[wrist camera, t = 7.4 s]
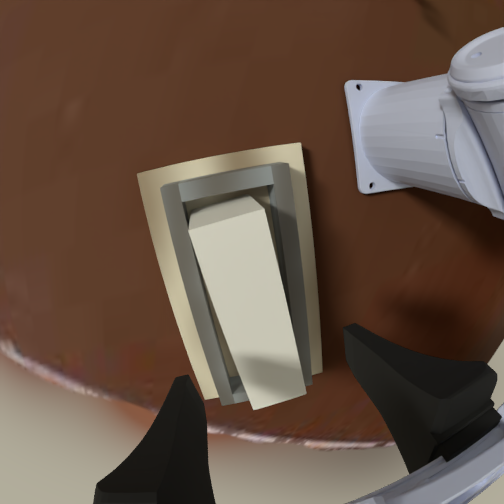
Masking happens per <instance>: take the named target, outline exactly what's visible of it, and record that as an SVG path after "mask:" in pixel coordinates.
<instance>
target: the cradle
mask: <svg viewBox="0 0 504 504" xmlns="http://www.w3.org/2000/svg"><path fill="white" fill-rule="evenodd" d="M137 177H138V181H139V186H140V190H141V195H142V199H143V204H144V208H145V212H146V216H147V220H148V224H149V228H150V232H151V236H152V240H153V244H154V247H155V251H156V255H157V258H158V262H159V265H160V269H161V272H162V276H163V279H164V283H165V286H166V289H167V293H168V296H169V299H170V302H171V306H172V309H173V312H174V315H175V318H176V321H177V324H178V327H179V330H180V333H181V336H182V339H183V342H184V345H185V348H186V350H187V353H188V356H189V359H190V362H191V364H192V367H193V370H194V372H195V375H196V378H197V380H198V383H199V385H200V388H201V391H202V393H203V396H204V398H205V400H206V399H212V398H217V397H219V398H220V401H221V404H222V406H223V405H229V404H234V403H239V402H244V401H248V400H249V398H248V395H247V393H246V390H245V388H244V385H243V383H242V380H241V378H240V375H239V373H238V370H237V367H236V365H235V362H234V360H233V357H232V354H231V352H230V349H229V347H228V344H227V341H226V339H225V336H224V333H223V330H222V328H221V325H220V322H219V320H218V317H217V314H216V311H215V308H214V306H213V303H212V300H211V297H210V294H209V291H208V289H207V286H206V283H205V280H204V277H203V274H202V271H201V268H200V265H199V262H198V259H197V256H196V253H195V250H194V247H193V244H192V241H191V238H190V235H189V232H188V229H189V222H190V216H191V210H193V209H196V208H200V207H203V206H206V205H210V204H213V203H217V202H220V201H224V200H227V199H231V198H234V197H238V196H241V195H245V194H249V195H250V196H251V197H252V198H253V199H254V200H255V201H256V202H258V203H259V204H260V205H261V206H262V207H263V208H264V209H265V213H266V217H267V222H268V226H269V230H270V234H271V238H272V242H273V246H274V251H275V255H276V259H277V263H278V267H279V272H280V276H281V280H282V285H283V289H284V293H285V298H286V302H287V306H288V311H289V315H290V320H291V324H292V329H293V333H294V338H295V342H296V347H297V351H298V356H299V360H300V365H301V370H302V374H303V379H304V384H305V386H308V385H311V384H312V375H314V374H317V373H321V372H322V349H321V330H320V315H319V300H318V287H317V275H316V264H315V253H314V243H313V234H312V225H311V216H310V207H309V199H308V191H307V183H306V176H305V169H304V162H303V155H302V148H301V143H292V144H285V145H278V146H271V147H264V148H258V149H251V150H245V151H239V152H234V153H228V154H223V155H218V156H212V157H207V158H202V159H197V160H193V161H188V162H183V163H179V164H174V165H170V166H166V167H162V168H157V169H153V170H149V171H145V172H141V173H138V174H137Z"/></svg>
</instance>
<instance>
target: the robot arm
mask: <svg viewBox="0 0 504 504" xmlns="http://www.w3.org/2000/svg"><path fill="white" fill-rule="evenodd" d="M356 85H359V87H360V90H358V89H357V88H356ZM344 88H345V94H346V100H347V106H348V112H349V118H350V125H351V132H352V139H353V147H354V155H355V163H356V173H357V183H358V189H359V191H360V192H361V193H364V194H369V193H375V192H382V191H388V190H395V189H401V188H408V187H418V188H422V189H426V190H430V191H434V192H437V193H441V194H445V195H449V196H452V197H456V198H459V199H463V200H466V201H470V202H473V203H476V204H480V205H483V206H486V207H488V208H489V209H490V211H491V212H492V215H493V216H494V217H497V218H500V219H503V220H504V27H503V28H500V29H497V30H494V31H491V32H489V33H486V34H484V35H482V36H480V37H478V38H476V39H474V40H473V41H471V42H469V43H468V44H467V45H465V46H464V47H463V48H461V49H460V50H459V51H458V52H457V53H456V54H455V55H454V57H453V59H452V61H451V66H450V69H449V71H448V74H443V75H438V76H433V77H428V78H423V79H419V80H414V81H410V82H406V83H404V82H390V81H365V80H350V81H347V82H346V83H345V85H344ZM370 183H372V184H373V187H372V188H371V189H370V187H369V185H370ZM343 332H344V342H345V353H346V361H347V363H348V365H349V367H350V369H351V371H352V372H353V374H354V376H355V378H356V379H357V381H358V382H359V383H360V385H361V386H362V388H363V389H364V391H365V392H366V393H367V395H368V396H369V398H370V399H371V400H372V402H373V403H374V405H375V406H376V407H377V409H378V410H379V412H380V413H381V415H382V417H383V419H384V421H385V422H386V424H387V426H388V428H389V430H390V432H391V434H392V436H393V438H394V440H395V442H396V444H397V446H398V449H399V451H400V453H401V455H402V457H403V460H404V462H405V464H406V467H407V469H408V472H409V475H407V476H406V477H404V478H402V479H400V480H398V481H396V482H394V483H392V484H390V485H388V486H385V487H383V488H381V489H379V490H377V491H375V492H372V493H370V494H368V495H365V496H363V497H361V498H358V499H356V500H353V501H351V502H348V503H345V504H467V503H469V502H470V501H471V500H473V499H474V498H475V497H476V496H478V495H479V494H480V493H481V492H483V491H484V490H485V489H486V488H488V487H489V486H490V485H491V484H492V483H493V482H494V481H496V480H497V479H498V478H499V477H500V476H501V475H502V474H503V473H504V403H503V404H502V405H501V406H500V407H499V408H498V409H497V411H496V410H495V409H494V408H493V406H494V402H493V401H492V400H491V399H490V398H491V395H492V393H493V390H494V388H495V386H496V382H497V373H496V372H495V371H494V370H493V369H491V368H490V367H489V366H488V365H487V364H486V363H485V362H484V361H456V360H448V359H442V358H437V357H432V356H428V355H424V354H421V353H418V352H414V351H411V350H409V349H406V348H404V347H401V346H399V345H396V344H394V343H392V342H390V341H388V340H386V339H384V338H382V337H380V336H378V335H376V334H374V333H372V332H370V331H369V330H367V329H365V328H363V327H361V326H360V325H358V324H356V323H354V324H351V325H349V326H346V327H343ZM207 444H208V443H207V420H206V414H205V408H204V403H203V401H202V399H201V397H200V396H199V394H198V392H197V390H196V388H195V386H194V384H193V382H192V380H191V379H190V377H189V375H184V376H179V377H176V378H175V380H174V382H173V384H172V386H171V388H170V391H169V393H168V395H167V397H166V399H165V401H164V403H163V405H162V407H161V409H160V411H159V413H158V415H157V417H156V419H155V420H154V422H153V424H152V426H151V427H150V429H149V430H148V432H147V434H146V435H145V436H144V438H143V440H142V441H141V442H140V443H139V445H138V446H137V447H136V448H135V449H134V450H133V452H132V453H131V454H130V455H129V456H128V457H127V458H126V459H125V460H124V461H123V462H122V463H121V464H120V465H119V466H118V467H117V468H116V469H115V470H113V471H112V472H111V473H110V474H108V475H107V476H106V477H105V478H104V479H102V480H101V481H99V482H98V483H97V485H96V489H95V495H94V502H93V504H216V503H215V499H214V494H213V489H212V484H211V479H210V473H209V466H208V445H207Z"/></svg>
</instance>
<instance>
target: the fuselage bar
mask: <svg viewBox="0 0 504 504" xmlns="http://www.w3.org/2000/svg"><path fill="white" fill-rule="evenodd" d="M188 232H189V235H190V238H191V241H192V244H193V247H194V250H195V253H196V256H197V259H198V262H199V265H200V268H201V271H202V274H203V277H204V280H205V283H206V286H207V289H208V291H209V294H210V297H211V300H212V303H213V306H214V308H215V311H216V314H217V317H218V320H219V322H220V325H221V328H222V330H223V333H224V336H225V339H226V341H227V344H228V347H229V349H230V352H231V354H232V357H233V360H234V362H235V365H236V367H237V370H238V373H239V375H240V378H241V380H242V383H243V385H244V388H245V390H246V393H247V395H248V398H249V400H250V403H251V405H252V407H253V410H256V409H259V408H263V407H266V406H270V405H273V404H277V403H280V402H283V401H286V400H289V399H292V398H296V397H299V396H302V395H304V394H307V393H306V388H305V384H304V379H303V374H302V370H301V365H300V360H299V356H298V351H297V347H296V342H295V338H294V333H293V329H292V324H291V320H290V315H289V311H288V306H287V302H286V298H285V293H284V289H283V285H282V280H281V276H280V272H279V267H278V263H277V259H276V255H275V251H274V246H273V242H272V238H271V234H270V230H269V226H268V222H267V217H266V213H265V209H264V208H263V207H262V206H261V205H260V204H259V203H258V202H256V201H255V200H254V199H253V198H252V197H251V196H250V195H249V194H245V195H241V196H238V197H234V198H231V199H227V200H224V201H220V202H217V203H213V204H210V205H206V206H203V207H200V208H196V209H193V210H191V216H190V222H189V229H188Z"/></svg>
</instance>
